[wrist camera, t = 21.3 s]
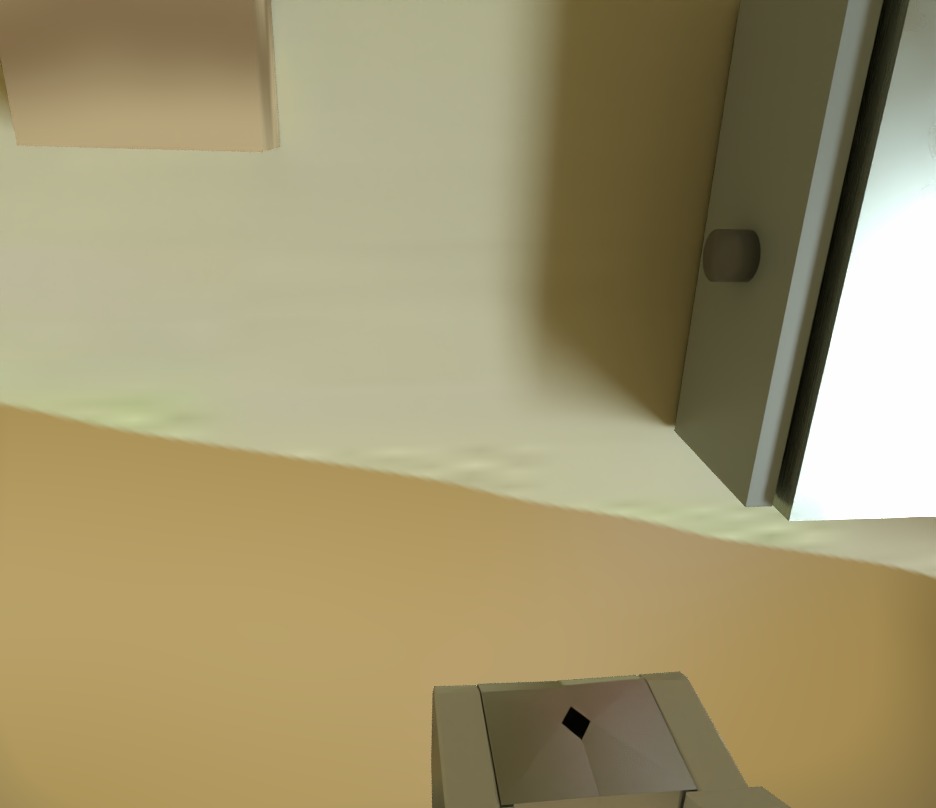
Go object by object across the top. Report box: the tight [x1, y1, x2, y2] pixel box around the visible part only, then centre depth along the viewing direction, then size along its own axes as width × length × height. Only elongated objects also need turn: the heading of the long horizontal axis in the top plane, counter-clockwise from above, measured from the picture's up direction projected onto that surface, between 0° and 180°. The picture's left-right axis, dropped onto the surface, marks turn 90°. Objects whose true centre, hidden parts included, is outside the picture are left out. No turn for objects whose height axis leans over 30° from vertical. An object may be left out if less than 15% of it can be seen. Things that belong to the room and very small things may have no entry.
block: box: [0, 0, 280, 152], centre depth 22 cm, size 7×7×4 cm
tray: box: [674, 0, 883, 507], centre depth 26 cm, size 17×17×7 cm
